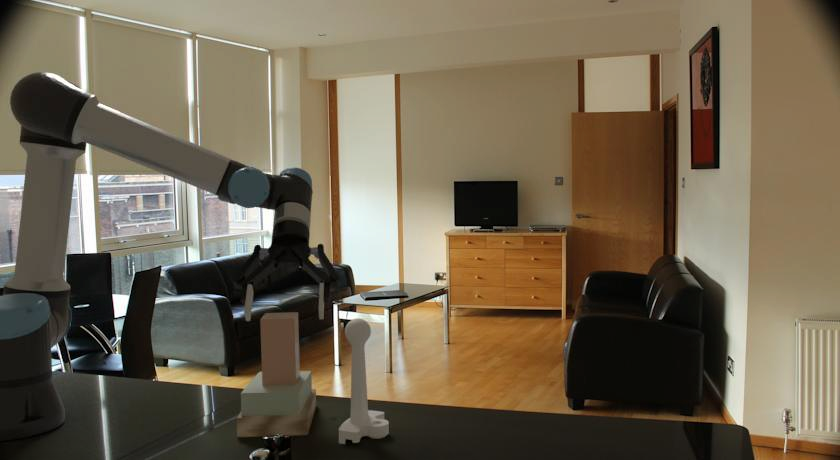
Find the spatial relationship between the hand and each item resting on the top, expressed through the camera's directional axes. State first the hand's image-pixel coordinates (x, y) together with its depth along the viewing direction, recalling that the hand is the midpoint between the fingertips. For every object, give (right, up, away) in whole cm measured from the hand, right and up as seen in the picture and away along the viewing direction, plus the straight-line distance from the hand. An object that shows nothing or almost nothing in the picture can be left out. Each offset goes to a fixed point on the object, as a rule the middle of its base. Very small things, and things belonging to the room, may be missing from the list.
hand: (284, 316), depth 130 cm
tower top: (-1, -16, -2) cm, 16 cm away
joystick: (+16, -19, -10) cm, 27 cm away
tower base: (0, -20, -2) cm, 20 cm away
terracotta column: (0, -12, -2) cm, 12 cm away
